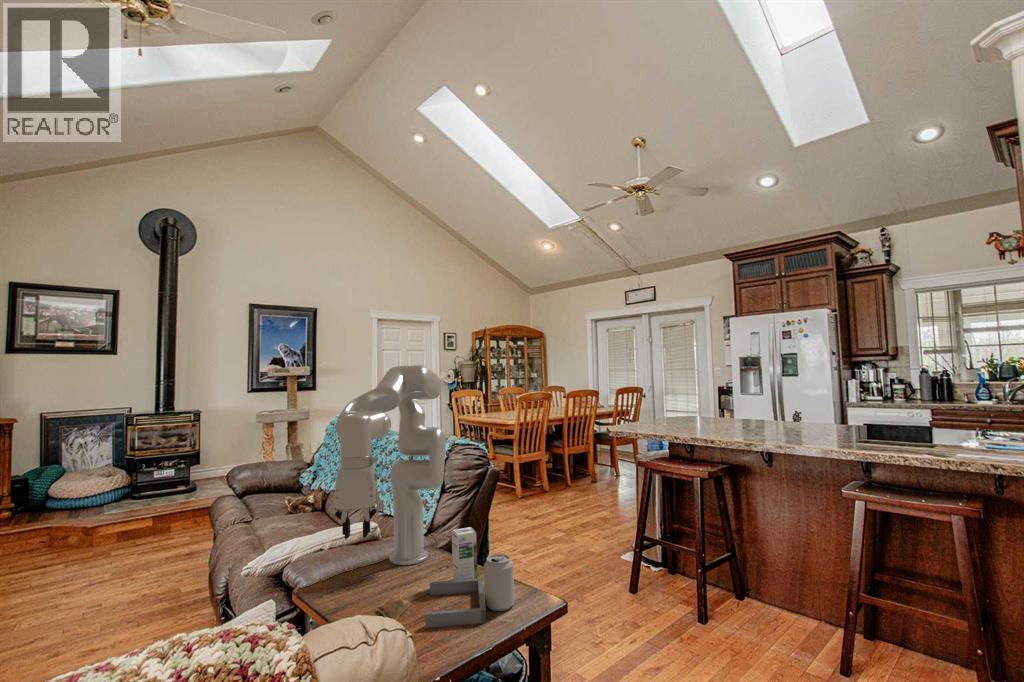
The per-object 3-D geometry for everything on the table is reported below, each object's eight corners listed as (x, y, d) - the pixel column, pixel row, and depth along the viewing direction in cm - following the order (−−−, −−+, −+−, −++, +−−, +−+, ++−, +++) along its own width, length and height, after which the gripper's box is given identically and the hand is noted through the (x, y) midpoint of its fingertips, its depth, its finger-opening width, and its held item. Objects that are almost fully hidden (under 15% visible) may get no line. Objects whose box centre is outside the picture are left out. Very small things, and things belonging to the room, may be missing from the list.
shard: (392, 628, 114) (392, 620, 115) (363, 626, 116) (363, 618, 116) (412, 607, 125) (412, 600, 125) (385, 605, 127) (385, 598, 127)
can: (481, 602, 125) (479, 555, 126) (507, 596, 128) (506, 550, 129) (491, 615, 118) (489, 564, 119) (519, 608, 121) (517, 559, 122)
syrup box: (458, 588, 134) (457, 534, 136) (452, 580, 140) (451, 528, 141) (477, 584, 137) (476, 531, 138) (471, 576, 142) (470, 525, 143)
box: (430, 593, 131) (430, 582, 132) (482, 589, 133) (482, 578, 133) (425, 628, 113) (425, 614, 113) (486, 622, 115) (485, 609, 115)
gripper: (391, 459, 128) (392, 530, 127) (326, 462, 126) (326, 534, 125) (387, 463, 120) (388, 539, 119) (317, 467, 119) (317, 544, 117)
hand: (356, 535), depth 122 cm, fingers open, 3 cm apart
